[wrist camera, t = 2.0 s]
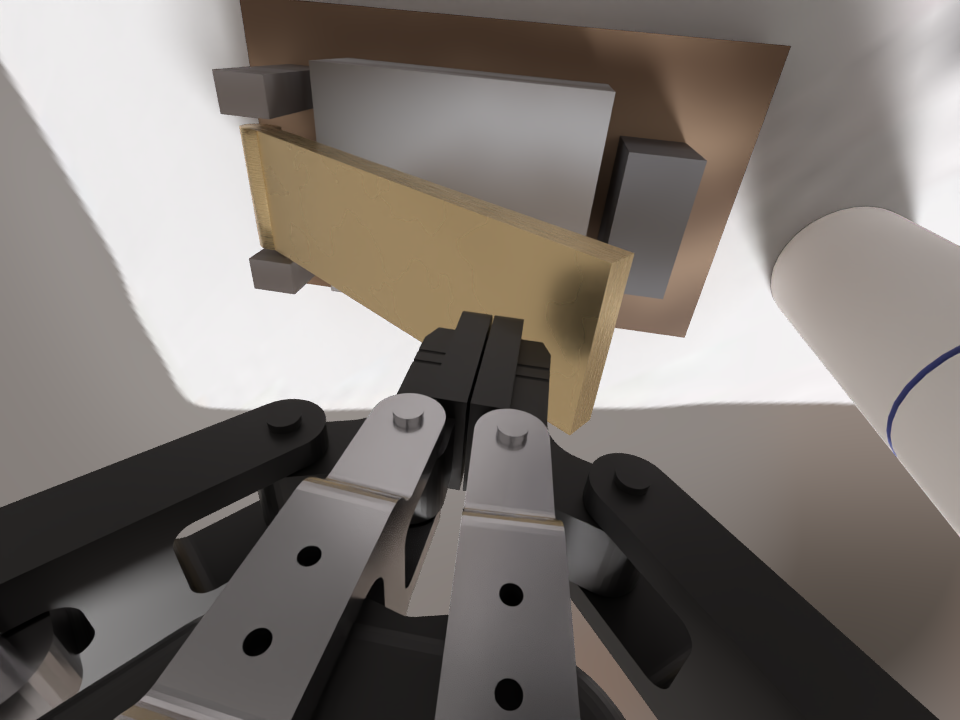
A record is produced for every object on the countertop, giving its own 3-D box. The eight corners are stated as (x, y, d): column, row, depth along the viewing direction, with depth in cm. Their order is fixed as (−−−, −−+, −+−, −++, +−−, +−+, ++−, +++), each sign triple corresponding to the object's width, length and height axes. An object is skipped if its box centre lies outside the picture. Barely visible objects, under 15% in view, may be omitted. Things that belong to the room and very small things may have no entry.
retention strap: (269, 122, 21) (232, 124, 20) (640, 250, 11) (604, 267, 10) (286, 235, 24) (254, 241, 23) (595, 414, 14) (563, 440, 13)
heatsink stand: (272, -1, 24) (142, -20, 17) (766, 45, 22) (864, 46, 15) (305, 261, 32) (226, 327, 25) (674, 313, 30) (709, 401, 23)
